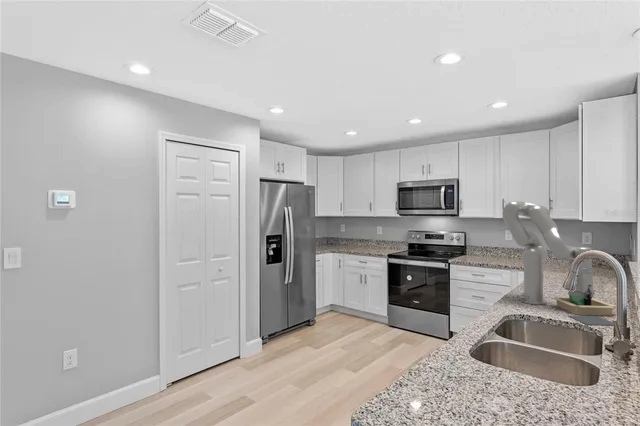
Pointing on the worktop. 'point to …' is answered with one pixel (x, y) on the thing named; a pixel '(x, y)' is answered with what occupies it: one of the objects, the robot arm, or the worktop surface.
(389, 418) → the worktop surface
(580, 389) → the worktop surface
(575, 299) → the food container
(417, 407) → the worktop surface
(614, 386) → the worktop surface
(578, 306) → the tan square tray
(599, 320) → the mat
